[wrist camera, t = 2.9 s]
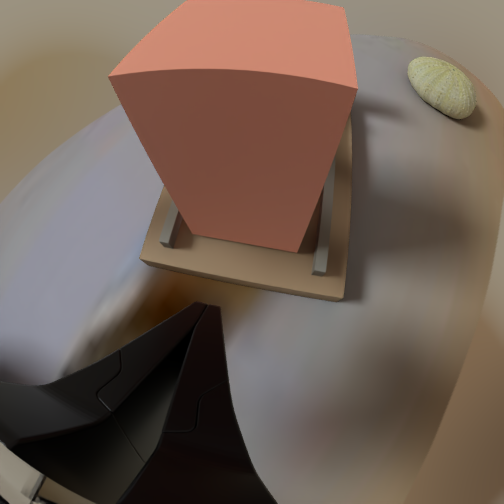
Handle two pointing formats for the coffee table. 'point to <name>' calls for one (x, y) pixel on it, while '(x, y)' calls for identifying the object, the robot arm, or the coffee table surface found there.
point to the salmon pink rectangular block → (242, 112)
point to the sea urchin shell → (442, 86)
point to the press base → (263, 258)
